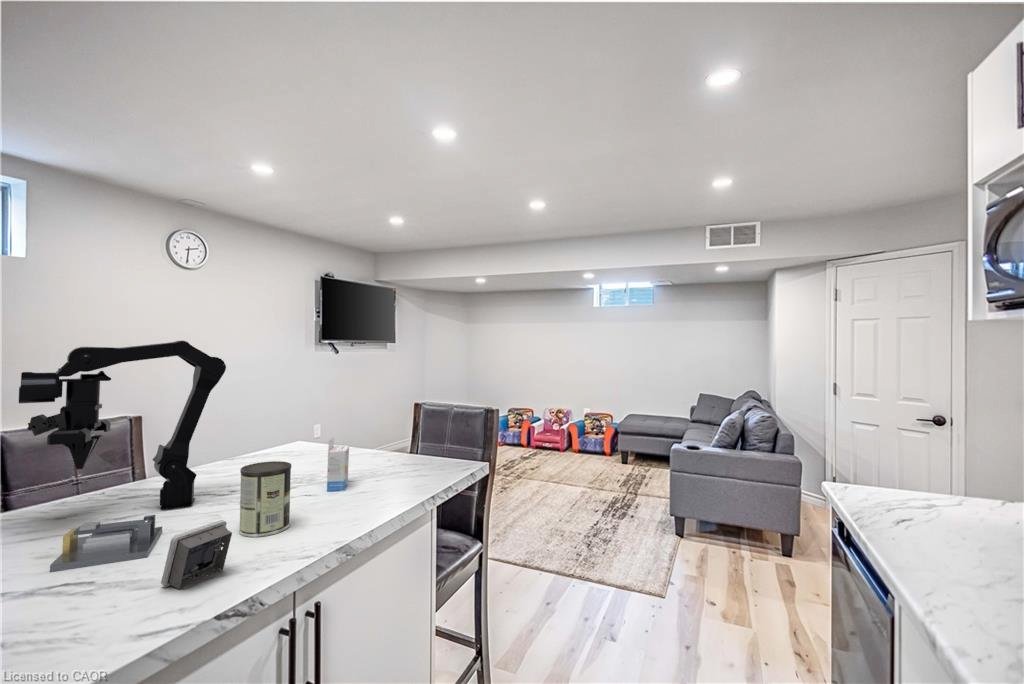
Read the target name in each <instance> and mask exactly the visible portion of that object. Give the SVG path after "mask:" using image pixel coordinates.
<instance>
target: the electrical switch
mask: <svg viewBox="0 0 1024 684" xmlns="http://www.w3.org/2000/svg"><path fill="white" fill-rule="evenodd" d="M227 524H228V522H227V521H226V520H224V519H220V520H219V519H218V520H217V521H214V522H211V523H208V524H204V525H202V526H199V527H197V528H196V527H195V528H193V529H190V530H187V531H184V532H181V533H178V534H175V535H174V536H173V537H172V538H171V539H170V544H169V547H168V552H167V557H166V561H165V565H164V569H163V573H162V574H163V575H162V576H161V582H160V584H161V585H162V586H163V587H164V588H168V587H170V586H172V587H174V588H176V589H178V590H179V591H180V590H182V589H184V588H187V587H189V586H191V585H194V584H196V583H199V582H200V581H203V580H205V579H208V578H209V577H212V576H214V575H216V574H218V573H219V574H220V572H222V571H224V566H225V563H226V559H227V555H228V552H229V551H228V550H229V548H230V543H231V539H232V536H233V535H232V534H233V532H232V531H230V530H229V529H228V528H227ZM196 575H197V576H196Z"/></svg>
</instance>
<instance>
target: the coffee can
mask: <svg viewBox="0 0 1024 684" xmlns="http://www.w3.org/2000/svg"><path fill="white" fill-rule="evenodd" d="M291 463H292V462H291ZM291 463H290V462H288V461H280V460H279V461H277V460H275V461H274V460H273V461H261V462H256V463H251V464H247V465H244V466H242V467H241V468H240V494H239V495H240V497H239V499H240V500H239V501H240V503H239V530H238V532H239V535H241V536H243V537H249V538H262V537H267V536H273V535H276V534H279V533H282V532H284V531H285V530H287V529H289V527H290V525H291V522H290V520H291V519H290V512H291V511H290V510H291V509H290V508H291V507H290V506H291V473H292V471H291V469H292V464H291Z"/></svg>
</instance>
